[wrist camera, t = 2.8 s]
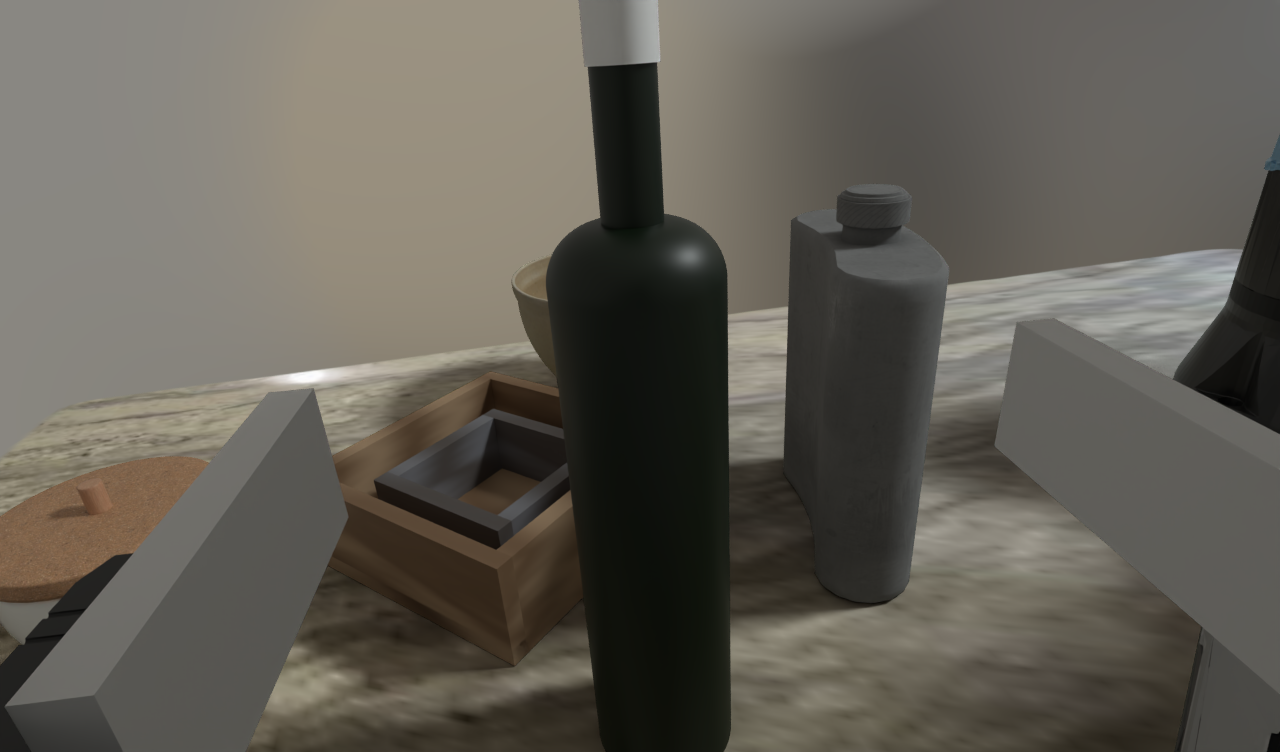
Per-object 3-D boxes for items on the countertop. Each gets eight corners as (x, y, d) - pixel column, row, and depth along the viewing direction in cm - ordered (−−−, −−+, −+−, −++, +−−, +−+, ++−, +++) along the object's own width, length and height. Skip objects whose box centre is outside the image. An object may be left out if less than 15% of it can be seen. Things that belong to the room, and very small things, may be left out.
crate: (501, 441, 55) (490, 371, 52) (680, 498, 46) (676, 418, 44) (318, 560, 43) (292, 477, 40) (514, 666, 34) (496, 569, 32)
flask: (937, 604, 37) (997, 219, 28) (824, 608, 37) (849, 227, 28) (859, 453, 50) (884, 163, 42) (777, 457, 50) (785, 169, 42)
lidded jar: (275, 545, 44) (230, 414, 40) (247, 673, 35) (185, 518, 31) (78, 591, 42) (9, 454, 38) (-9, 742, 32) (-113, 582, 28)
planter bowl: (502, 379, 65) (484, 265, 61) (653, 339, 72) (647, 233, 67) (574, 454, 52) (558, 316, 48) (749, 396, 59) (750, 271, 55)
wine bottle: (619, 662, 34) (549, -54, 22) (738, 681, 33) (737, -74, 20) (582, 770, 29) (463, -81, 17) (720, 797, 28) (704, -110, 15)
